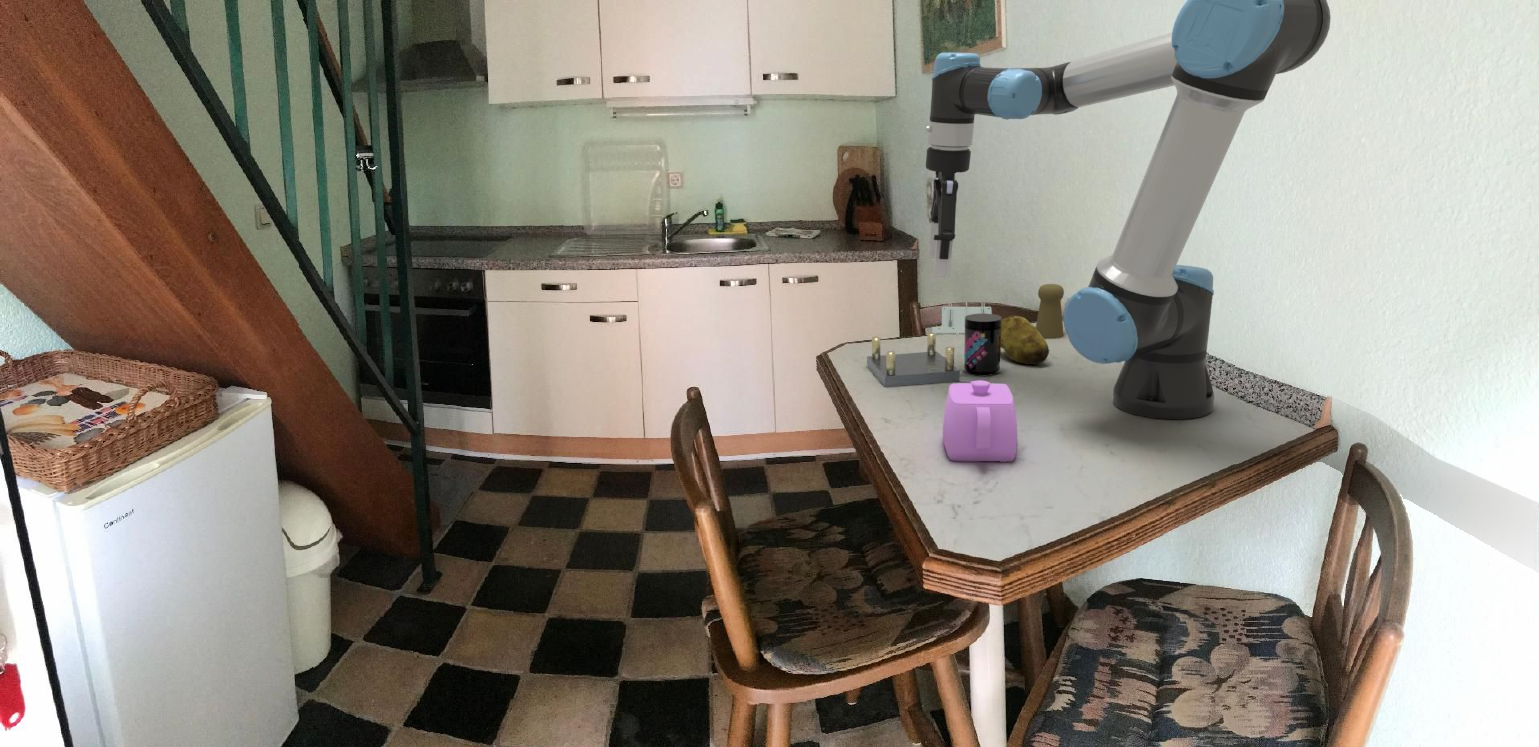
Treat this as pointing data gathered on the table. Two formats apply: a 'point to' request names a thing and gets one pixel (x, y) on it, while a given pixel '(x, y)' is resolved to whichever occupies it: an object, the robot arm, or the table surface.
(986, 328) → the supplement container
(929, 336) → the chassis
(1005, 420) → the teapot
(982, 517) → the table surface
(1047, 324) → the tan game pawn
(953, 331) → the metal bracket
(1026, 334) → the potato
